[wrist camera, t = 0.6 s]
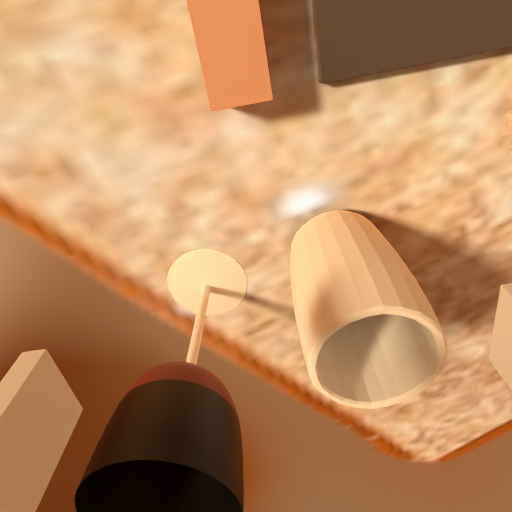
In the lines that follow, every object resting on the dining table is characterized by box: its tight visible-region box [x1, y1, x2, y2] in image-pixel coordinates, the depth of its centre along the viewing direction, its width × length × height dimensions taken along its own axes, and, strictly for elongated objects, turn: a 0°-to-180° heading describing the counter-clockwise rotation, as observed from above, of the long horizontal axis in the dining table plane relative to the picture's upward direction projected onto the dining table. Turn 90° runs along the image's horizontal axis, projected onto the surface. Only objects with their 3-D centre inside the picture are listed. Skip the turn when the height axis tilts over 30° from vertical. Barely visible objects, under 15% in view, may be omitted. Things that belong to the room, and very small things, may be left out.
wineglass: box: [75, 249, 247, 512], centre depth 27 cm, size 8×9×20 cm
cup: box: [290, 210, 447, 409], centre depth 28 cm, size 8×8×14 cm
